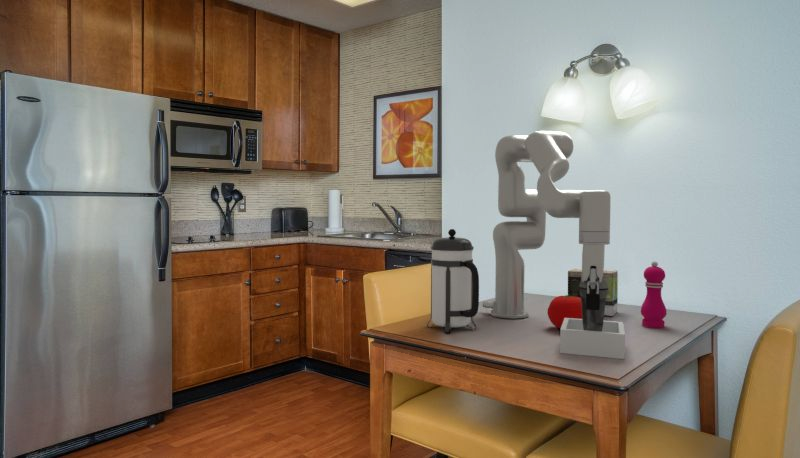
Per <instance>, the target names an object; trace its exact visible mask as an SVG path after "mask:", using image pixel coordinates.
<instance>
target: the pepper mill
mask: <svg viewBox="0 0 800 458" xmlns="http://www.w3.org/2000/svg"><path fill="white" fill-rule="evenodd" d="M658 265H659V263H658V262H657V261H652V262H651V266H648V267H646V268H645V270H644V271H643V278H644V279H645V280H646V281H645V282H644V283H645V285H644V286H645V287H646V296H645V298H644V300H643V303H642V304H641V307H640V314H641V316H642V317H643V318H642V319H641V325H642V327H646V328H651V329H663V328H665V324H666V323H665V321H664V318H665V317H667V314H668V313H667V309H666V305H665V303H664V301H663V298H662V289H663V287H664V286H663V285H664V283H663V281H664V280H665V278H666V272H665V270H664V269H663V268H662V267H660V266H658Z"/></svg>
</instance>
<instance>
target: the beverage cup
mask: <svg viewBox="0 0 800 458" xmlns="http://www.w3.org/2000/svg"><path fill="white" fill-rule="evenodd" d="M597 278H598V276H597ZM589 281H590V280H589ZM587 282H588V279H587V281H584V283H583V282H582V279H581V281H580V285H579V291H580V295H581V307H582V321H583V329H584V330H587V331H600V332H602V328H603V321H605V320H604V318H605V315H604V311H605V302H606V297H607V292H608V284H607V281H606V279H605V278H604V277H603V278H602V282H601V283H600V284H599V294H600V309H599V310H587V309H586V293H587ZM596 282H597V280H596ZM589 291H590V290H589ZM596 292H597V289H596ZM589 294H590V292H589ZM596 294H597V293H596Z"/></svg>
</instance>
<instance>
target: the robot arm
mask: <svg viewBox="0 0 800 458" xmlns="http://www.w3.org/2000/svg"><path fill="white" fill-rule="evenodd" d="M573 151H574V141H573V139H572V138H571V136H570V134H568V133H566V132H563V131H553V130H539V131H537V130H536V131H533V132H531V133H530V134H528V135H523V134H520V135H519V134H518V135H517V134H512V135H506V136H504V137H501V139H499V140H498V142H497V144H496V148H495V151H494V152H495V153H494V157H495V164H496V168H497V173H498V183H497V184H498V187H497V188H498V189H497V190H498V191H497V192H498V193H497V194H498V195H497V196H498V197H497V198H498V200H497V201H498V202H497V204H498V205H497V207H498V212H499V214H500V215H501V216H503V217H506V218H526V221H525V220H524V221H521V220H519V221H517V220H516V221H515V220H511V221H509V220H508V221H502V222H499V223H498V224H496V225H495V227H494V228H493V230H492V240H493V245H494V253H495V286H494V287H495V288H494V292H495V297H494V298H495V300H493V301H491V302H489V301H482V307H483V308H484V309H491V310H490V315H491V316H493V317H495V318H499V319H525V318H527V317H529V316H530V313H529V311H527V310H525V261H524V259H523V258H524V257H522V255H521V253H520V252H519V251H520V250H521V251H522V250H523V251H524V250H525V251H526V250H538V249H540V248H541V247H543V245H544V244H545V241H546V226H547V225H546V220H547V219H546V218H547V214H548V215H549V216H550V217H552V218H556V219H578V244H580V245H582V254H581V269H582V282H583V283H584V281H587V279H588V282H587V293H586V309H587V310H599V309H600V294H599V284H600V283H601V282H602V278H603V270H605V246H606V245H610V243H611V241H610V239H611V236H610V235H611V194H610V192H609V191H608V190H605V189H602V190H601V189H595V190H594V189H591V190H588V189H587V190H585V189H581V190H580V189H577V190H576V189H558V188H557V187H556V185H555V184H554V183H556V182H558V181H559V180H561V179H563V178H564V177H565V176H566V175H567V174H568V172H569V170H570V163H569V161H568V159H569V158H570V157H571V155H572V154H573ZM519 163H533V165H534V166H535V169H536V170H537V172H538V173H539V176H538V179H537V182H536V183H537V184H536V189H534V188H526V187H525V182H526V181H525V180H526V179H525V178H526V177H525V172H524V171H523V169H522V167H521V166H520V164H519ZM546 213H547V214H546ZM597 276H598V278H597ZM589 280H590V281H589ZM596 280H597V282H596ZM596 289H597V292H596ZM589 290H590V291H589ZM589 292H590V294H589ZM596 293H597V294H596Z"/></svg>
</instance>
